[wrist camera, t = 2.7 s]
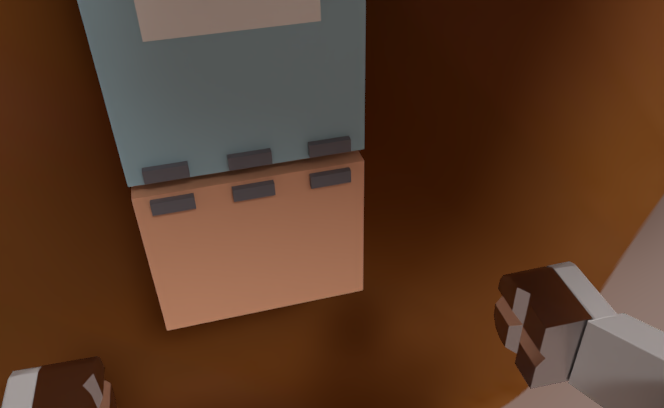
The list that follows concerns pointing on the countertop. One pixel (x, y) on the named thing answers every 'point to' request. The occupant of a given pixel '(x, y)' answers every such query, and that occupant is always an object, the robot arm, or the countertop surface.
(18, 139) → the countertop surface
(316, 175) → the block
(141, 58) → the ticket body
